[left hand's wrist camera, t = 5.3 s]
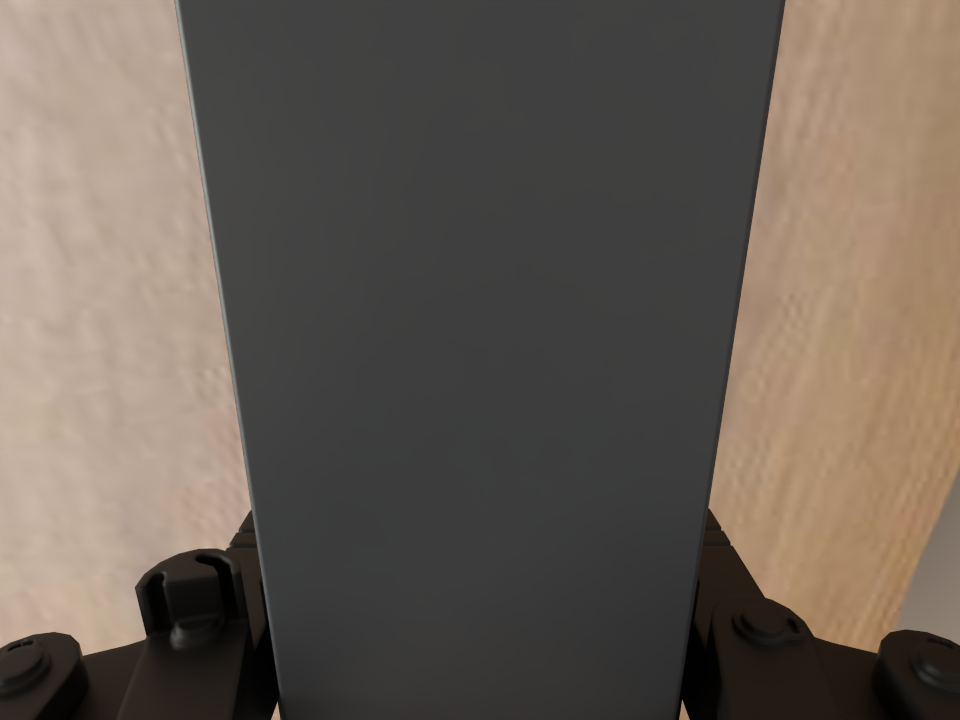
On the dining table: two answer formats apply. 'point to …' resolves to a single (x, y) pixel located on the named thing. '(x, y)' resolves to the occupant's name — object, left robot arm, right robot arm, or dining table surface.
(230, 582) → the left robot arm
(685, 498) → the bar
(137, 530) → the dining table surface
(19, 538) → the dining table surface
